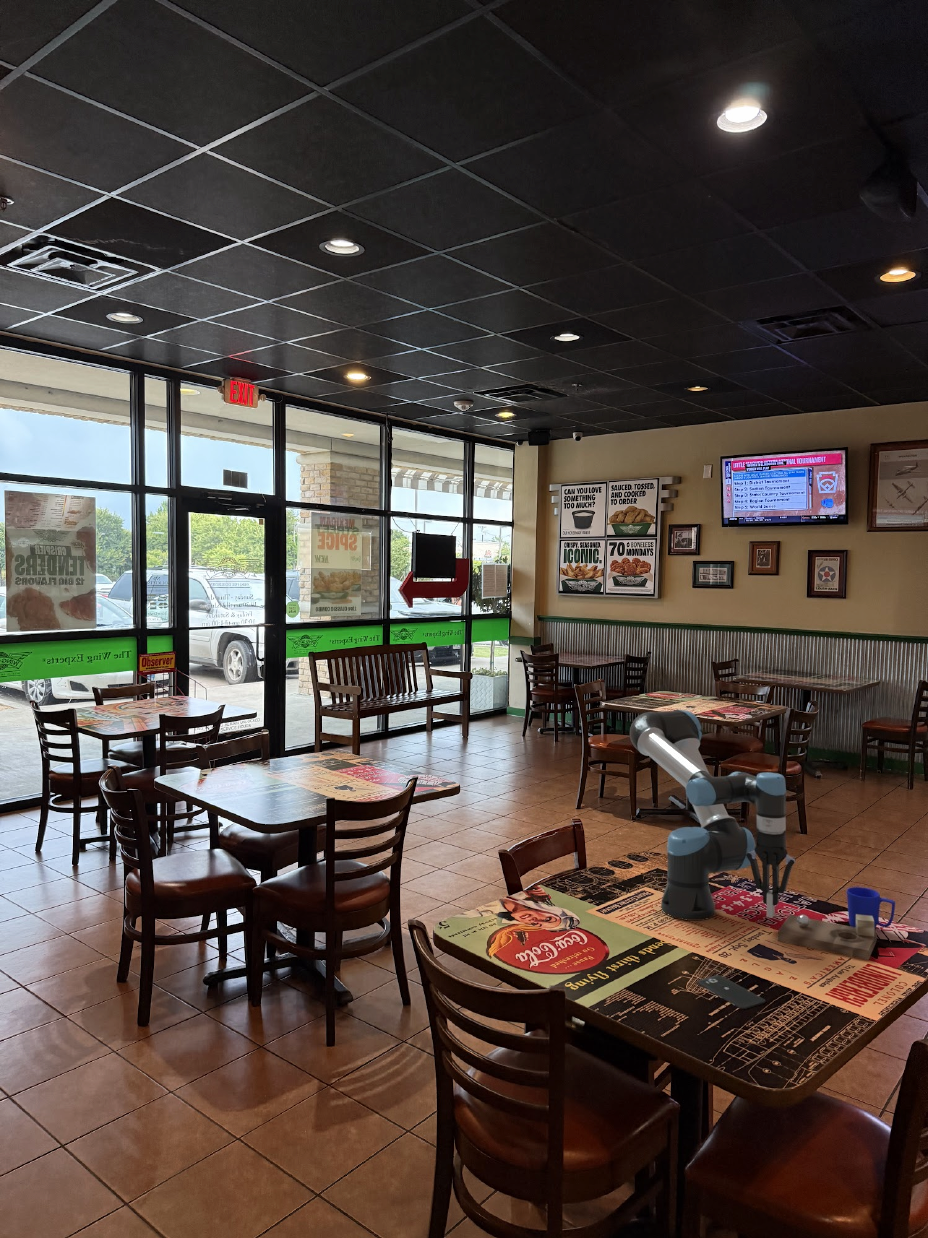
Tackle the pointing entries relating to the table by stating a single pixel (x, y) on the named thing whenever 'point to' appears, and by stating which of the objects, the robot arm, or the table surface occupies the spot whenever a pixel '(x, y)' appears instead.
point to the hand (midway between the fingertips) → (770, 915)
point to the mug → (866, 905)
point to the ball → (803, 921)
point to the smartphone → (731, 992)
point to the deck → (827, 937)
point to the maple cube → (864, 925)
